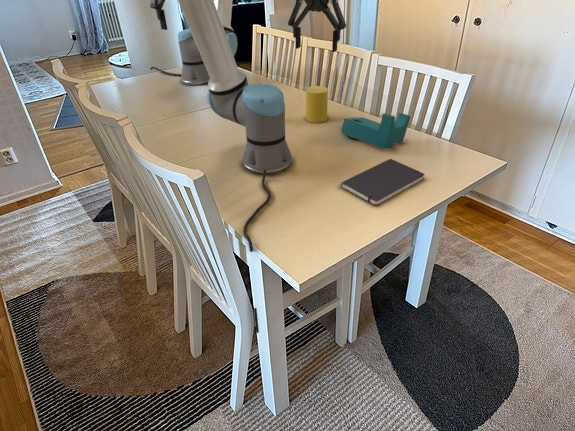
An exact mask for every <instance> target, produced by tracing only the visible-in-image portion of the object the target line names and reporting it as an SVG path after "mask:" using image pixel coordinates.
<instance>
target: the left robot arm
mask: <svg viewBox="0 0 575 431" xmlns="http://www.w3.org/2000/svg"><path fill="white" fill-rule="evenodd" d="M165 1H166V0H150V3H149V7H150V9H153V10H155V12H156V17H157V20H158V21H159V26H160V29H161V30H164V31H167V30H168V24H167V19H166V14H165V9H163V8H164V4H165V3H166V2H165ZM214 3H215V6H216V9H217V11H218V14H219V17H220V20H221V23H222V25H223V28H224V31H225V34H226V37H227V40H228V42H229V45H230V48H231V51H232V54H233V57H234V58H235V56H236V53H237V50H238V36H237V35H236V33H234V29H233V27H232V25H231V22H232V11H233V0H214ZM177 41H178V42H177V43H178V46H179V47H178V48H179V52H180V59H181V63H182V67H181V73H173V72H169V71H168V72H167V71H164V70H162V69H161V68H160V69H159V68H158V67H155V66H151V67H150V69H149V70H156V71H157V72H161V73H163V74H165V75H168V76H169V75H170V76H176V77H180V82H181V83H182V84H183V85H187V86H202V85H206V84H207V85H208V82H209V80H210V77H209V74H208V72H207V69H206V67H205V65H204V62H203V60H202V57H201V55H200V53H199V50H198V48H197V45H196V43H195V40H194V38H193V36H192V33H191V31H190V28H186V29H183V30H180V31H179V32H178V33H177Z"/></svg>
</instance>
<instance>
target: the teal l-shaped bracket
mask: <svg viewBox="0 0 575 431" xmlns="http://www.w3.org/2000/svg"><path fill="white" fill-rule="evenodd" d="M411 117H412V116H411V115H408V114H407V113H404V112H403V113H402V112H398V115H397V117H396V116H394V115H391V114H389V113H382V117H381V120H380V122H378V121H375V120H371V119H369V118H365V117H344V118H343V122H342V126H341V131H340V133H341V134H344V135H345V136H347V137H348V136H349V137H351V138H353V139H356V140H359V141H361V142H363V143H367V144H368V145H372V146H374V147H377V148H379V149H382V150H389V149H394V145H396V144H403V143H404V139H405V138H406V137H405V136H406V133H407V129H408V126H409V123H410V119H411Z"/></svg>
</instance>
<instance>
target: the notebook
mask: <svg viewBox="0 0 575 431" xmlns="http://www.w3.org/2000/svg"><path fill="white" fill-rule="evenodd" d="M424 176H425V173H424V172H422V171H420V170H417V169H415V168H413V167H410V166H408V165H406V164H404V163H401V162H399V161H397V160H395V159H393V158H389V159H387V160H385V161H382V162H380V163H379V164H377V165H375V166H372V167H370V168H368V169H366V170H364V171H362V172H360V173H358V174H356V175H353V176H351V177H350V178H348V179H345V180H344V181H341V182H340V183H341V184H340V187H341V188H342V189H344V190H345V191H347V192H349V193H350V194H353V195H355V196H356V197H358V198H360V199H362V200H363V201H365V202H367V203H369V204H371V205H373V206H379V205H381V204H382V203H384V202H386V201H388V200H390V199H391V198H393V197H395V196H397V195H398V194H400V193H402V192H404V191H406V190H407V189H409V188H411V187H413V186H415V185H416V184H418V183H420V182H422V181H423V180H424Z"/></svg>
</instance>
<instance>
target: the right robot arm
mask: <svg viewBox="0 0 575 431" xmlns="http://www.w3.org/2000/svg"><path fill="white" fill-rule="evenodd" d="M177 1H178V4H179V7H180V9H181V12H182V14H183V16H184V20H185V21H186V24H187V27H188V29H190V31H191V33H192V36H193V38H194V40H195V43H196V45H197V48H198V50H199V53H200V55H201V57H202V60H203V62H204V65H205V67H206V69H207V72H208V74H209V77H210V80H209V82H208V83H207V88H208V90H207V91H208V93H207V102H208V106H209V108H210V109H211V111H213V112H214V113H215V115H218V116H219V117H221V118H222V119H225V120H228V121H230V122H233V123H235V124H238V125H241V126H243V127H245V136H246V137H245V138H246V143H245V146H244V151H243V155H242V166H243V168H244V170H246V171H247V172H249V173H252V174H254V175H255V174H256V175H262V177H261V178H262V179H261V185H262V188H263V189H264V190H265V192H266V193H267V197H266V200H265V201H264V202H263V203H261V205H259V207H257V208H256V210H254V212H253V213H252V214H251V215H250V217H249V218H248V219H247V220H246V222H245V223H244V226H243V236H244V238H245V239H246V240H247V242H248V246H249V247H248V248H249V252H250V253H252V252H254V247H253V242H252V238H251V237H250V235H249V234H248V232H247V229H248V226H249V224H250V223H251V222H252V220H253V219H254V218H255V217H256V216H257V215H258V213H259V212H260V211H261V210H262V209H263V208H264V207H265V206H267V204H268V203H269V202H270V200H271V196H272V194H271V192H270V190H269V188H267V186H266V183H265V182H266V176H269V175H277V174H280V173H283V172H286V171H287V170H289V169H290V167H291V166H292V163H293V158H292V153H291V150H290V148H289V145H288V143H287V140H286V103H285V96H284V93H283V91H282V90H281V89H280V88H279V87H278V86H276V85H273V84H271V83H267V82H266V83H263V82H253V83H249V81H248V79H247V75H246V73H245V71H244V70H243V69H241V68H238V65H237V62H236V60H235V56H234V57H233V54H232V51H231V48H230V45H229V42H228V40H227V37H226V34H225V31H224V28H223V25H222V23H221V20H220V17H219V14H218V11H217V9H216V6H215V3H214V0H177ZM303 3H305V7H304V8H303V9H302V12H301V13H300V14H299V12H300V10H301V7H302V4H303ZM329 3H330V5H332V9H333V12H334V14H333V12H332V11H331V8H330V7H329V5H328V4H329ZM310 12H317V13H321V12H322V13H323V14H324V15H325V17H326V18H327V20H328V21H329V23H330V24H331V26H332V27H333V29H334V30H333V31H332V44H331V45H332V47H331V52H332V53H335V52H337V51H338V42H339V41H340V40H341V31H342V30H345V29H346V28H347V23H346V20H345V17H344V15H343V12H342V10H341V7H340V4H339V0H295V4H294V6H293V8H292V11H291V14H290V17H289V19H288V22H287V26H290V27H292V32H293V33H292V34H293V35H292V37H293V38H294V39H295V49H296V50H297V49H300V48H301V47H302V31H301V30H302V27H301V26H300V24H301V23H302V22H303V21H304V19H305V18H306V16H308V14H309V13H310ZM298 14H299V16H298ZM252 308H253V318H254V326H255V327H254V328H255V333H256V334H258V333H260V328H259V319H258V308H257V307H252Z"/></svg>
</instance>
